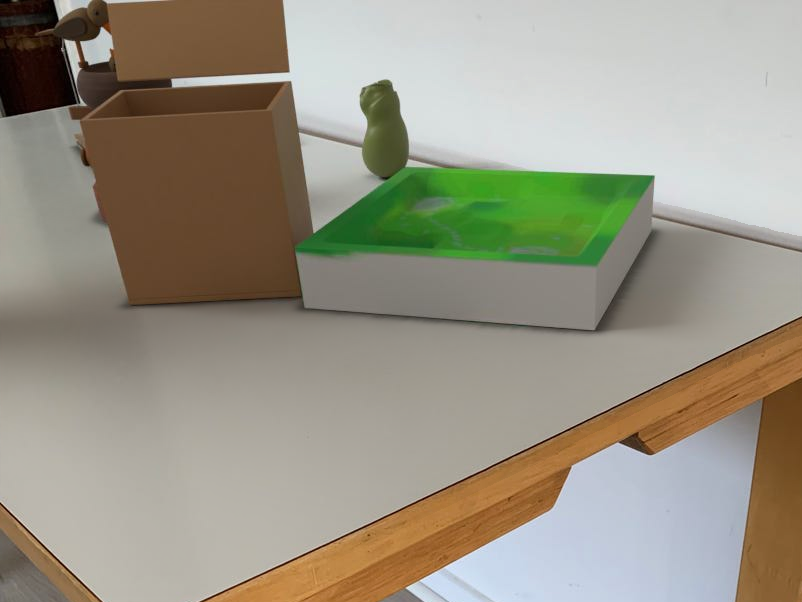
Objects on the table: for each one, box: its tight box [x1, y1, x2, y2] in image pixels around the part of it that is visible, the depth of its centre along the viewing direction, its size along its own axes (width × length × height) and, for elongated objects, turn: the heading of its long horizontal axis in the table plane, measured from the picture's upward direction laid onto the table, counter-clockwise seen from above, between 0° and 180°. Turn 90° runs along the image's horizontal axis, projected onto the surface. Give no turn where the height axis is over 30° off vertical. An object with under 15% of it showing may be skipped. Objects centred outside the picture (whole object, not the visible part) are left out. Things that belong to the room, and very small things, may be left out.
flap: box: [106, 0, 291, 82], centre depth 84 cm, size 15×6×1 cm
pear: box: [359, 78, 410, 178], centre depth 111 cm, size 6×5×10 cm
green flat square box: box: [295, 166, 656, 331], centre depth 87 cm, size 25×25×5 cm
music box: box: [35, 0, 173, 223], centre depth 102 cm, size 15×11×20 cm
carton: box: [79, 80, 315, 306], centre depth 85 cm, size 15×12×14 cm
